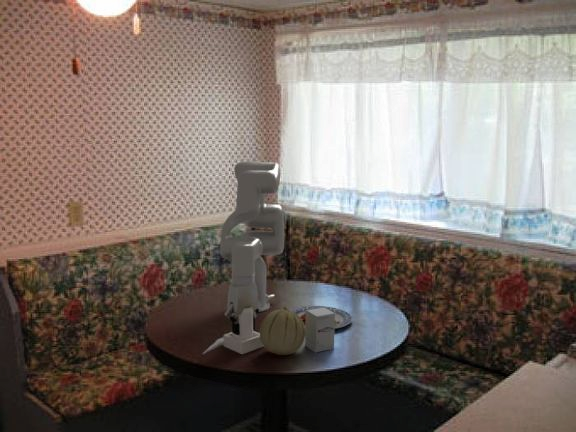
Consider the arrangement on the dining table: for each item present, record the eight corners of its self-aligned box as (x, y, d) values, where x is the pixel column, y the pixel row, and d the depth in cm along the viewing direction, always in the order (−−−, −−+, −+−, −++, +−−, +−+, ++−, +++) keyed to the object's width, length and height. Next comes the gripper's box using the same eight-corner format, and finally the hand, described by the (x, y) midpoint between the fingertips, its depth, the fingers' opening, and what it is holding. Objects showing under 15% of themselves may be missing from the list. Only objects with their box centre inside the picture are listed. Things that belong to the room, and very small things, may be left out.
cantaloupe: (259, 363, 181) (259, 317, 178) (259, 344, 195) (259, 302, 193) (306, 362, 181) (307, 316, 179) (303, 344, 196) (303, 301, 193)
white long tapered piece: (225, 338, 201) (225, 333, 200) (232, 339, 200) (231, 334, 199) (199, 355, 188) (199, 350, 188) (206, 357, 187) (205, 352, 186)
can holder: (245, 338, 201) (245, 327, 200) (263, 346, 194) (263, 335, 193) (223, 346, 194) (223, 334, 193) (242, 354, 187) (242, 342, 186)
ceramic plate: (269, 322, 217) (269, 315, 217) (313, 306, 236) (313, 299, 235) (322, 340, 200) (322, 332, 199) (365, 322, 218) (365, 314, 218)
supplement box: (315, 353, 188) (316, 316, 186) (304, 345, 195) (304, 309, 193) (334, 349, 192) (335, 313, 190) (323, 341, 198) (323, 306, 196)
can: (250, 344, 190) (250, 309, 188) (231, 342, 191) (230, 307, 189) (255, 336, 196) (255, 302, 194) (236, 335, 197) (236, 301, 195)
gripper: (255, 272, 199) (255, 322, 202) (215, 282, 187) (216, 335, 190) (270, 276, 194) (270, 327, 197) (230, 287, 181) (230, 341, 185)
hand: (243, 330), depth 193 cm, fingers closed on can, 6 cm apart
